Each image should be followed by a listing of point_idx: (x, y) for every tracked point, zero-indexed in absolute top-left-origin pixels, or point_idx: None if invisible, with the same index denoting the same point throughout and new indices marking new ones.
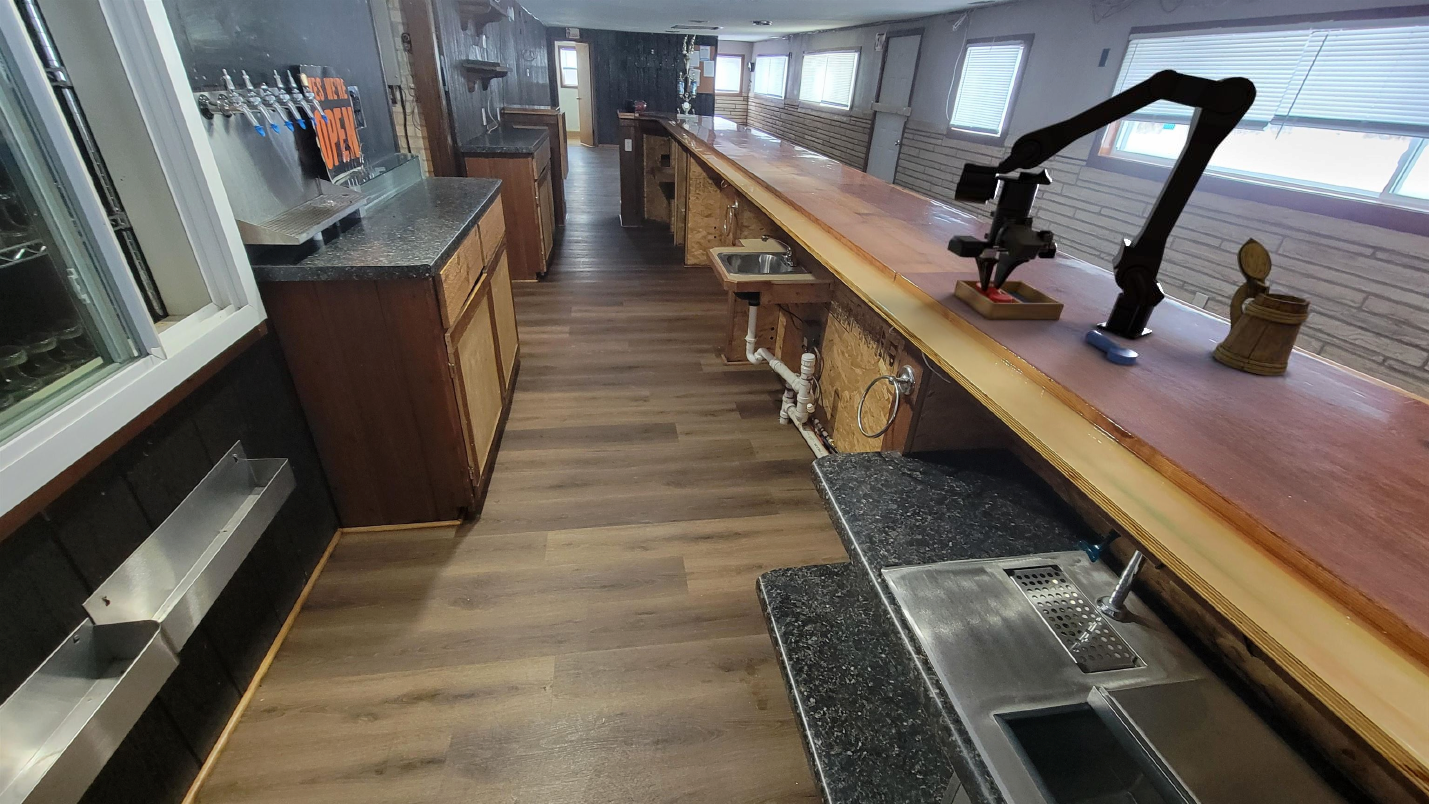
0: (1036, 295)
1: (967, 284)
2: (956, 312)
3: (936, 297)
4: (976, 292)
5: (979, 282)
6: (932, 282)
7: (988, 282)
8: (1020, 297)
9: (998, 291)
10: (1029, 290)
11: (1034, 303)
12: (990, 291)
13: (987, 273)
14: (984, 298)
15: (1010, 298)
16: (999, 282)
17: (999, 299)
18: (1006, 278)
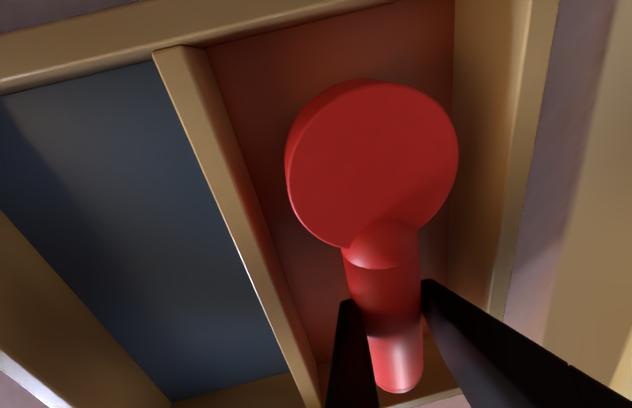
0: (65, 351)
1: (431, 373)
2: (591, 73)
3: (544, 270)
4: (518, 228)
5: (420, 377)
6: (461, 399)
7: (470, 328)
8: (164, 352)
9: (383, 248)
10: (108, 400)
11: (65, 42)
12: (419, 260)
13: (610, 398)
14: (540, 102)
15: (312, 138)
16: (370, 356)
17: (424, 95)
18: (332, 405)
